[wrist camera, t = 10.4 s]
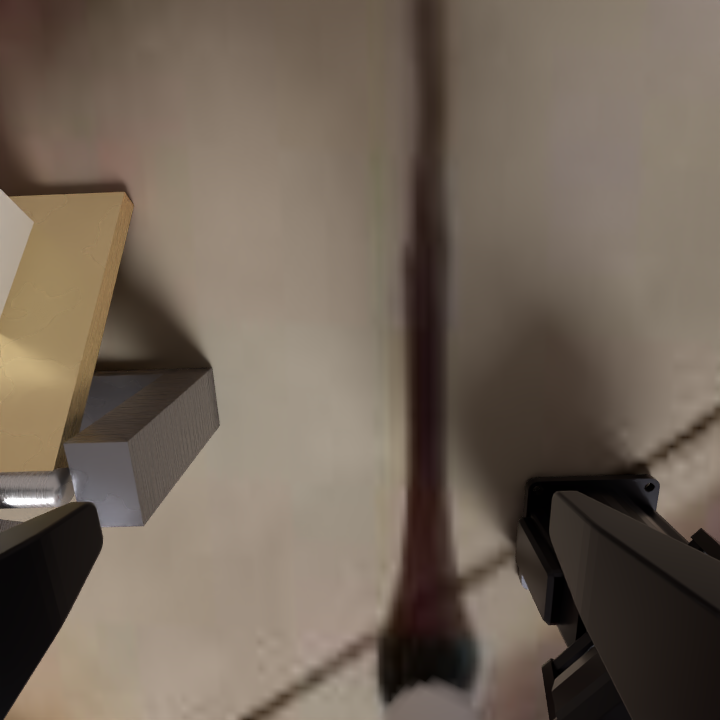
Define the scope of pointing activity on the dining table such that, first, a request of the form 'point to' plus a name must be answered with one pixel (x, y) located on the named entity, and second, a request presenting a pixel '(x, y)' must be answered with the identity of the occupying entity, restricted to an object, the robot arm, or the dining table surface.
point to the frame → (139, 439)
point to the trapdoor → (54, 339)
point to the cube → (11, 243)
